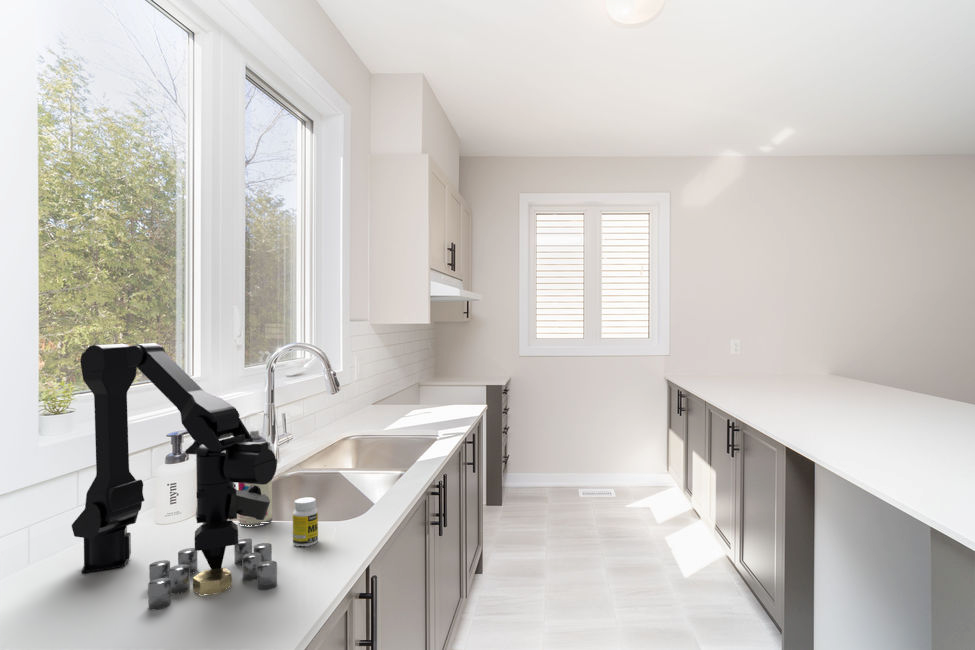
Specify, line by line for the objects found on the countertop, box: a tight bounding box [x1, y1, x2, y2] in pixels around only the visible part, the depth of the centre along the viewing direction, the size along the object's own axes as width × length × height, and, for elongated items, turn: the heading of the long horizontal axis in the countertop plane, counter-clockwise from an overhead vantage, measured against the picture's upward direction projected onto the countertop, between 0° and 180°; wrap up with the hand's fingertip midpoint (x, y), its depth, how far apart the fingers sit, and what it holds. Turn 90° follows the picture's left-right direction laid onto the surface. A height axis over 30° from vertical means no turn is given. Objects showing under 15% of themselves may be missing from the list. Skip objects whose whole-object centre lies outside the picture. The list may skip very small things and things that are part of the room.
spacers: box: [147, 538, 278, 610], centre depth 98 cm, size 19×16×4 cm
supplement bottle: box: [292, 496, 319, 547], centre depth 115 cm, size 5×5×8 cm
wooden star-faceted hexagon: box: [192, 567, 233, 596], centre depth 95 cm, size 5×6×2 cm
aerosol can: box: [237, 429, 273, 526], centre depth 128 cm, size 7×7×20 cm
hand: (216, 572), depth 99 cm, fingers closed
